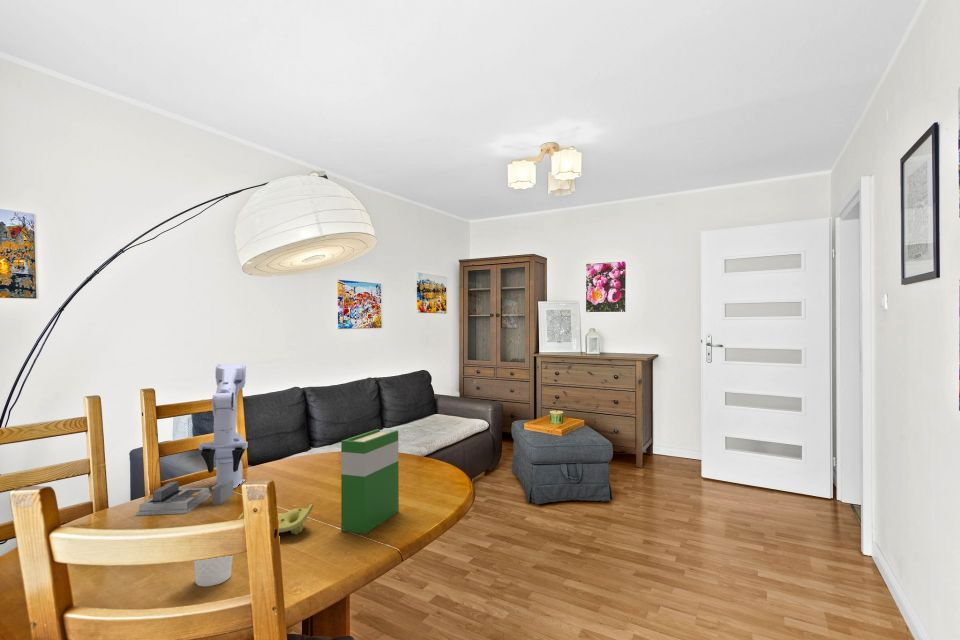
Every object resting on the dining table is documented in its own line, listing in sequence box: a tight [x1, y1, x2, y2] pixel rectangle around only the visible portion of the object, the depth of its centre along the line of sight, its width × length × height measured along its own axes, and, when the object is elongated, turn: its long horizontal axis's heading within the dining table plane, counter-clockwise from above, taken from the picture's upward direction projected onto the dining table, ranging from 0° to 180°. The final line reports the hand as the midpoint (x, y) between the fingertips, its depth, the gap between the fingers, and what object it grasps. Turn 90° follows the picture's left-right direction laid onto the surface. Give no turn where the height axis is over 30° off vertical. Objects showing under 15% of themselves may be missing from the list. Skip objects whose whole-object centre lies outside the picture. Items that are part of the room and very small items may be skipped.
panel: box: [211, 480, 234, 506], centre depth 157 cm, size 10×2×5 cm, turn 6°
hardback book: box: [340, 428, 400, 535], centre depth 137 cm, size 18×7×24 cm, turn 159°
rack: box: [136, 481, 212, 517], centre depth 151 cm, size 16×14×6 cm
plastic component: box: [237, 503, 314, 535], centre depth 130 cm, size 20×7×10 cm
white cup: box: [193, 554, 234, 587], centre depth 104 cm, size 8×8×10 cm
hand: (223, 471), depth 157 cm, fingers open, 7 cm apart
